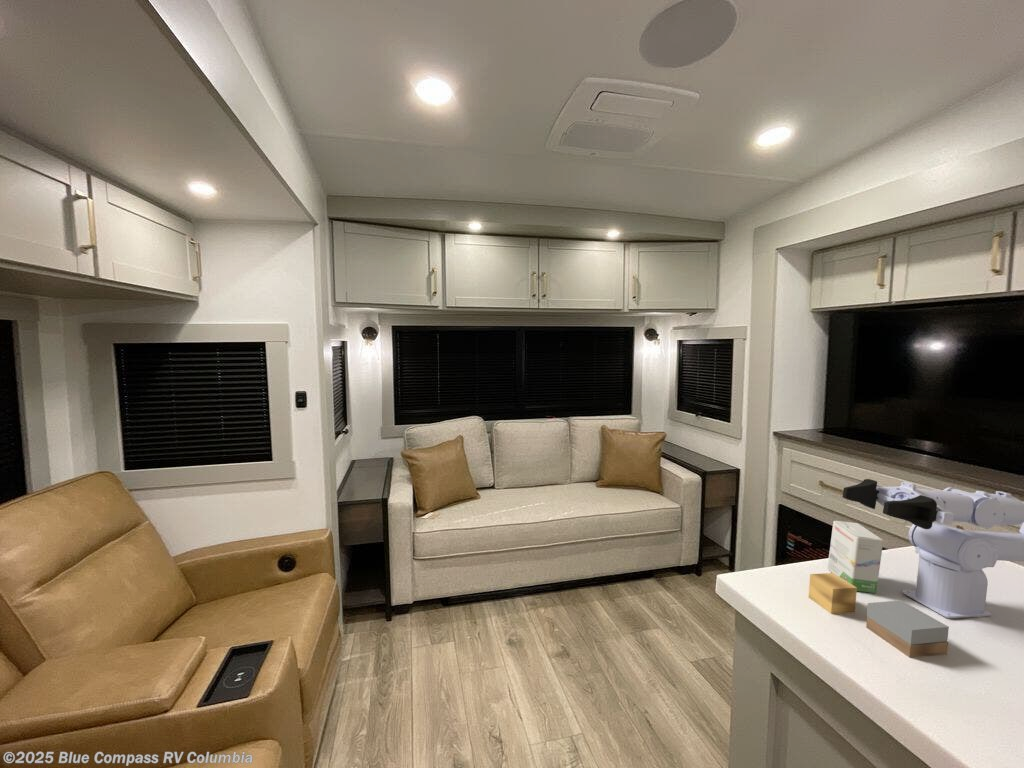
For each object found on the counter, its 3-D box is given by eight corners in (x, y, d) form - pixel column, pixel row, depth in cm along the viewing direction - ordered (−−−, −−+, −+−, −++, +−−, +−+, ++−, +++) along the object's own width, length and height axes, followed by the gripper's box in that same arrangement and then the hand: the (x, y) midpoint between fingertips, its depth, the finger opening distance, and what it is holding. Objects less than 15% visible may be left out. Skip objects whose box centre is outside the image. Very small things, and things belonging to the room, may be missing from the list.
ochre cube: (830, 596, 80) (832, 573, 80) (854, 612, 75) (856, 587, 75) (808, 597, 79) (810, 574, 79) (830, 614, 74) (833, 588, 74)
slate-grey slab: (900, 613, 72) (901, 600, 71) (947, 641, 65) (948, 626, 64) (866, 616, 71) (867, 602, 70) (910, 644, 64) (912, 630, 64)
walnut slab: (900, 627, 72) (901, 614, 71) (946, 656, 65) (948, 642, 64) (866, 629, 71) (867, 616, 71) (909, 659, 64) (910, 645, 64)
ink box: (826, 569, 90) (830, 519, 89) (852, 571, 89) (857, 521, 88) (850, 591, 82) (855, 536, 81) (879, 594, 81) (884, 539, 80)
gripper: (890, 472, 82) (832, 468, 81) (979, 498, 68) (910, 493, 66) (884, 505, 83) (826, 501, 81) (971, 537, 68) (903, 533, 67)
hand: (864, 500), depth 74 cm, fingers open, 7 cm apart
